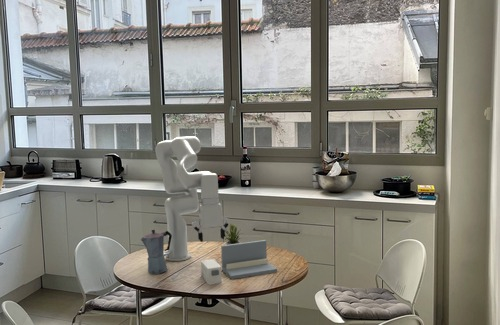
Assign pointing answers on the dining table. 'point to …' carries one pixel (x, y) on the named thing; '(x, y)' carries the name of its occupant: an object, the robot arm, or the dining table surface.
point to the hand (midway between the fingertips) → (211, 239)
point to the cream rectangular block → (211, 271)
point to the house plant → (232, 235)
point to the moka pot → (156, 251)
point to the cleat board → (246, 259)
